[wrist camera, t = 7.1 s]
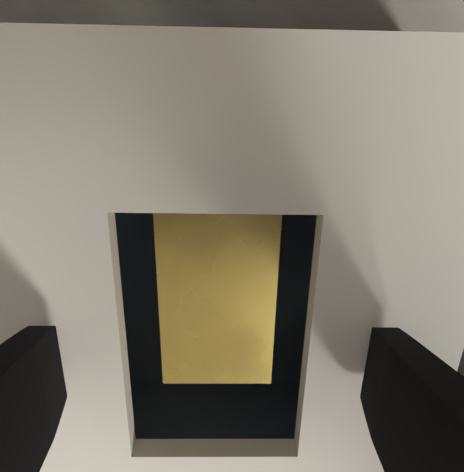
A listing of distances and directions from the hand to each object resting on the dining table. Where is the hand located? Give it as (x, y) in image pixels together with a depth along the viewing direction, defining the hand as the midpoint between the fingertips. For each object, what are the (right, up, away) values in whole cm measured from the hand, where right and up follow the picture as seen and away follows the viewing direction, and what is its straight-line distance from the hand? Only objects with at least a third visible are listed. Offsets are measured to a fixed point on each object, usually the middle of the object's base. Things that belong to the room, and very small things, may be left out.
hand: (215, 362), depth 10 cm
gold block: (0, +3, +6) cm, 6 cm away
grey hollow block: (0, +3, +6) cm, 7 cm away
